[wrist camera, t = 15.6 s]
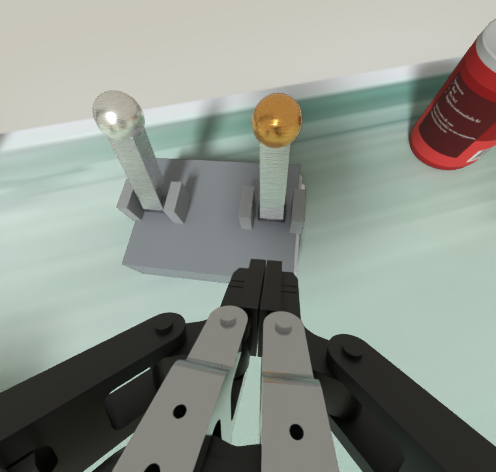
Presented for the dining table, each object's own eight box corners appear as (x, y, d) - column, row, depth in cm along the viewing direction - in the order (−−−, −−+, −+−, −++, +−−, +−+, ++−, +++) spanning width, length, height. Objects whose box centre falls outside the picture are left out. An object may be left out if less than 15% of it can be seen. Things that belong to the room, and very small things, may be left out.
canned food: (481, 127, 29) (599, 16, 18) (474, 180, 26) (605, 87, 16) (413, 113, 30) (486, 4, 20) (401, 162, 28) (477, 66, 18)
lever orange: (252, 230, 21) (247, 105, 13) (256, 205, 23) (254, 84, 15) (288, 233, 21) (306, 106, 13) (289, 207, 23) (305, 85, 15)
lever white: (137, 220, 23) (71, 101, 15) (151, 198, 25) (99, 83, 17) (169, 223, 22) (119, 101, 14) (180, 200, 24) (142, 83, 16)
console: (139, 273, 26) (98, 255, 20) (166, 178, 30) (140, 140, 24) (295, 290, 24) (304, 277, 17) (301, 186, 28) (310, 147, 22)
